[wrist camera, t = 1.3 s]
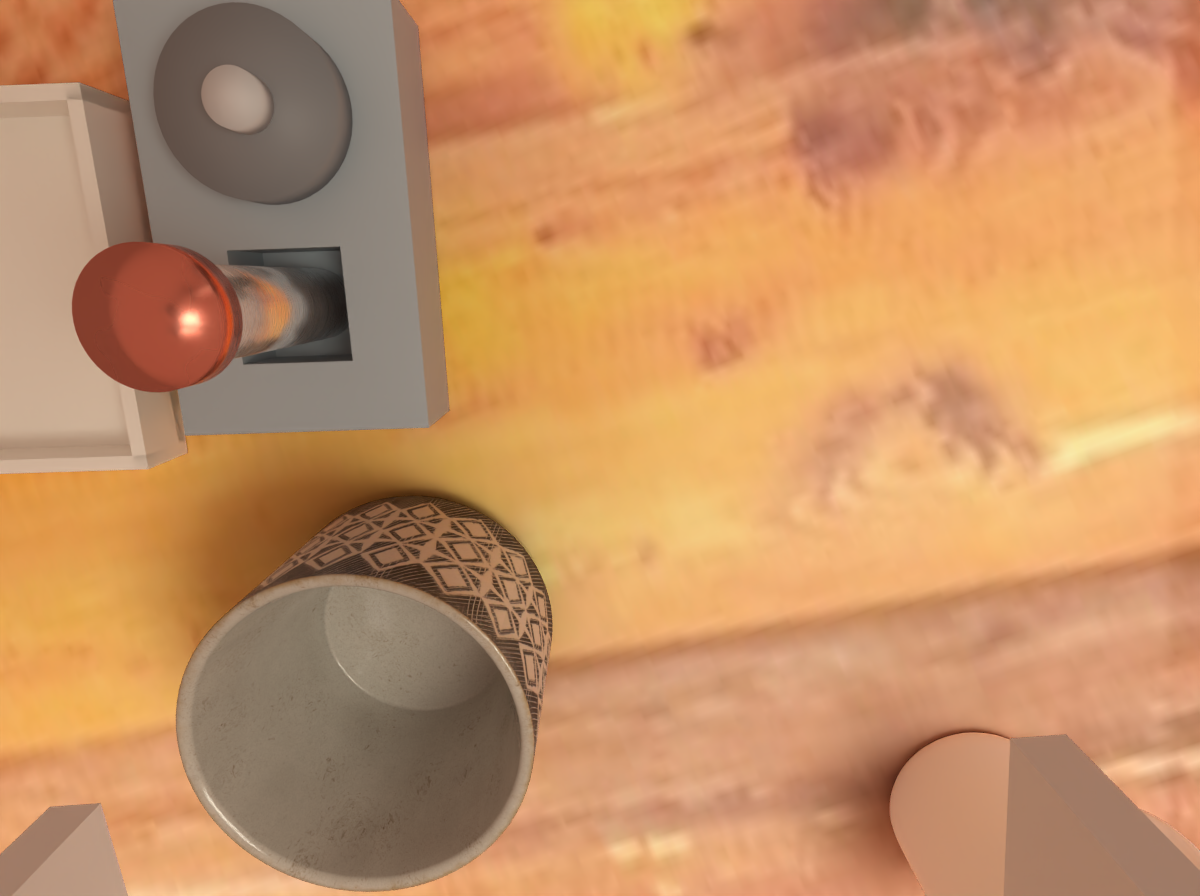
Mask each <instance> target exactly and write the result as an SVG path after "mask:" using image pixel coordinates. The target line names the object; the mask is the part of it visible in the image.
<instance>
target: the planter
mask: <svg viewBox="0 0 1200 896" xmlns="http://www.w3.org/2000/svg"><path fill="white" fill-rule="evenodd" d="M551 641H552V612H551V605H550V601H549V597H548V593H547V590H546V587H545V584H544V582H543V579H542V577H541V575H540V573H539V571H538V569H537V567H536V565H535V564H534V562H533V561H532V559H531V557H530V556H529V555H528V553H527V552H526V551H525V549H524V548H523V547H522V546H521V545H520V543H519V542H518V541H517V540H516V539H515V538H514V537H513V536H512V535H511V534H510V533H508V532H507V531H506V530H505V529H504V528H503V527H501V526H500V525H498V524H497V523H496V522H494V521H493V520H491V519H490V518H488V517H486V516H485V515H483V514H481V513H479V512H477V511H475V510H473V509H471V508H468V507H466V506H464V505H461V504H458V503H455V502H451V501H448V500H444V499H438V498H433V497H424V496H400V497H391V498H385V499H380V500H377V501H373V502H369V503H366V504H364V505H361V506H358V507H356V508H354V509H352V510H350V511H348V512H346V513H344V514H342V515H341V516H339V517H338V518H336V519H335V520H333V521H332V522H330V523H329V524H328V525H327V526H325V527H324V528H323V529H322V530H321V531H320V532H318V533H317V534H316V535H315V536H314V537H313V538H312V539H310V540H309V541H308V542H307V543H306V544H305V545H304V546H303V547H301V548H300V549H299V550H298V551H297V552H296V553H295V554H293V555H292V556H291V557H290V558H289V559H288V560H287V561H285V562H284V563H283V564H282V565H281V566H280V567H279V568H277V569H276V570H275V571H274V572H273V573H272V574H271V575H270V576H268V577H267V578H266V579H265V580H264V581H263V582H262V583H260V584H259V585H258V586H257V587H256V588H255V589H254V590H252V591H251V592H250V593H249V594H248V595H247V596H246V597H244V598H243V599H242V600H241V601H240V602H239V603H238V604H237V605H235V606H234V607H233V608H232V609H231V610H230V611H229V612H227V613H226V614H225V615H224V616H223V617H222V618H221V619H220V620H219V621H218V622H217V623H216V624H215V625H214V626H213V627H212V628H211V629H210V630H209V631H208V633H207V634H206V635H205V636H204V638H203V639H202V640H201V642H200V643H199V645H198V646H197V648H196V650H195V651H194V653H193V655H192V657H191V659H190V661H189V663H188V665H187V667H186V670H185V672H184V675H183V678H182V681H181V685H180V689H179V693H178V699H177V708H176V732H177V741H178V747H179V752H180V756H181V760H182V763H183V767H184V769H185V772H186V775H187V777H188V780H189V782H190V784H191V786H192V788H193V790H194V792H195V794H196V795H197V797H198V799H199V801H200V802H201V804H202V805H203V807H204V808H205V810H206V811H207V812H208V814H209V815H210V816H211V817H212V819H213V820H214V821H215V822H216V824H217V825H218V826H219V827H220V828H221V829H222V830H223V831H224V832H225V833H226V834H227V835H228V836H229V837H230V838H231V839H232V840H233V841H234V842H236V843H237V844H238V845H239V846H240V847H242V848H243V849H244V850H246V851H247V852H248V853H250V854H251V855H252V856H254V857H255V858H257V859H259V860H260V861H262V862H263V863H265V864H267V865H269V866H271V867H272V868H274V869H276V870H278V871H280V872H282V873H285V874H287V875H289V876H292V877H294V878H297V879H300V880H302V881H305V882H309V883H312V884H315V885H319V886H324V887H328V888H334V889H339V890H348V891H362V892H377V891H390V890H398V889H404V888H409V887H414V886H418V885H421V884H425V883H428V882H431V881H434V880H436V879H439V878H442V877H444V876H446V875H448V874H450V873H452V872H454V871H456V870H458V869H460V868H462V867H463V866H465V865H467V864H468V863H470V862H471V861H473V860H474V859H475V858H477V857H478V856H479V855H481V854H482V853H483V852H484V851H486V850H487V849H488V848H489V847H490V846H491V845H492V844H493V843H494V842H495V841H496V840H497V839H498V838H499V837H500V835H501V834H502V833H503V832H504V831H505V829H506V828H507V827H508V825H509V824H510V823H511V821H512V819H513V818H514V816H515V815H516V813H517V811H518V809H519V807H520V805H521V803H522V801H523V799H524V796H525V794H526V791H527V788H528V785H529V781H530V778H531V773H532V768H533V762H534V755H535V748H536V742H537V735H538V728H539V722H540V715H541V708H542V702H543V695H544V688H545V682H546V675H547V668H548V662H549V655H550V648H551Z"/></svg>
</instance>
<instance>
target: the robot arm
mask: <svg viewBox="0 0 1200 896" xmlns="http://www.w3.org/2000/svg"><path fill="white" fill-rule="evenodd" d="M0 896H128V894H127V891H126V887H125V884H124V881H123V877H122V874H121V870H120V867H119V864H118V860H117V857H116V853H115V850H114V847H113V843H112V840H111V836H110V833H109V830H108V826H107V823H106V820H105V816H104V813H103V809H102V806H101V803H97V804H83V805H69V806H55V807H49V808H48V809H47V810H46V811H45V812H44V813H43V814H42V815H41V816H40V817H39V818H38V819H37V820H36V821H35V822H34V823H33V824H32V825H31V826H29V827H28V828H27V829H26V830H25V831H24V832H23V833H22V834H21V835H20V836H19V837H18V838H17V839H16V840H15V841H14V842H13V843H12V844H11V845H10V846H9V847H7V848H6V849H5V850H4V851H3V852H2V853H1V854H0ZM1003 896H1200V870H1199V869H1198V868H1197V867H1196V866H1195V865H1194V864H1193V863H1192V862H1191V861H1190V860H1189V859H1188V858H1187V857H1186V856H1185V855H1184V854H1183V853H1182V852H1181V851H1180V850H1179V849H1178V848H1177V847H1176V846H1175V845H1174V844H1173V843H1172V842H1171V841H1170V840H1169V839H1168V838H1167V837H1166V836H1165V835H1164V834H1163V833H1162V832H1161V831H1160V830H1159V829H1158V827H1157V826H1156V825H1155V824H1154V823H1153V822H1152V821H1151V820H1150V819H1149V818H1148V817H1147V816H1146V815H1145V814H1144V813H1143V812H1142V811H1141V810H1140V809H1139V808H1138V807H1137V806H1136V805H1135V804H1134V803H1133V802H1132V801H1131V800H1130V799H1129V798H1128V797H1127V796H1126V795H1125V794H1124V793H1123V792H1122V791H1121V790H1120V789H1119V788H1118V787H1117V786H1116V785H1115V784H1114V783H1113V782H1112V781H1111V780H1110V779H1109V778H1108V777H1107V776H1106V775H1105V774H1104V773H1103V772H1102V770H1101V769H1100V768H1099V767H1098V766H1097V765H1096V764H1095V763H1094V762H1093V761H1092V760H1091V759H1090V758H1089V757H1088V756H1087V755H1086V754H1085V753H1084V752H1083V751H1082V750H1081V749H1080V748H1079V747H1078V746H1077V745H1076V744H1075V743H1074V742H1073V741H1072V740H1071V739H1070V738H1069V737H1068V736H1067V735H1066V734H1064V735H1050V736H1036V737H1022V738H1010V757H1009V780H1008V803H1007V826H1006V849H1005V872H1004V895H1003Z"/></svg>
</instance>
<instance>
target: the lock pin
mask: <svg viewBox="0 0 1200 896" xmlns="http://www.w3.org/2000/svg"><path fill="white" fill-rule="evenodd" d="M72 316H73V323H74V327H75V330H76V333H77V336H78V338H79V341H80V343H81V345H82V346H83V348H84V350H85V352H86V353H87V354H88V356H89V357H90V359H91V360H92V361H93V362H94V363H95V364H96V366H97V367H98V368H100V369H101V370H102V371H103V372H104V373H105V374H107V375H108V376H109V377H111V378H112V379H114V380H115V381H117V382H119V383H121V384H123V385H125V386H127V387H130V388H133V389H136V390H140V391H145V392H158V393H160V392H169V391H173V390H177V389H181V388H185V387H189V386H193V385H197V384H201V383H203V382H206V381H208V380H210V379H212V378H214V377H216V376H217V375H218V374H220V373H221V372H222V371H223V370H224V369H225V368H226V367H227V366H228V365H229V364H230V363H231V361H232V360H233V359H235V358H240V357H244V356H249V355H254V354H259V353H263V352H268V351H273V350H277V349H282V348H287V347H292V346H296V345H301V344H306V343H311V342H315V341H320V340H325V339H329V338H333V337H336V336H338V335H340V334H341V333H342V332H344V331H345V330H346V329H347V328H348V326H349V322H348V313H347V304H346V295H345V286H344V280H343V279H342V278H341V277H340V276H338V275H337V274H335V273H334V272H331V271H329V270H326V269H319V268H294V267H269V266H244V265H219V264H214V263H212V262H211V261H210V260H209V259H207V258H206V257H204V256H203V255H201V254H199V253H198V252H195V251H193V250H191V249H189V248H185V247H182V246H178V245H172V244H162V243H149V242H126V243H121V244H117V245H113V246H111V247H109V248H106V249H104V250H103V251H101V252H100V253H98V254H97V255H95V256H94V257H93V258H92V259H91V260H90V261H89V262H88V263H87V264H86V265H85V267H84V268H83V270H82V271H81V273H80V275H79V277H78V279H77V281H76V284H75V287H74V291H73V297H72Z"/></svg>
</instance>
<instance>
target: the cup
mask: <svg viewBox="0 0 1200 896" xmlns="http://www.w3.org/2000/svg"><path fill="white" fill-rule="evenodd" d="M1009 757H1010V740H1009V739H1007V738H1004V737H1001V736H998V735H994V734H988V733H977V732H968V733H959V734H954V735H950V736H946V737H943V738H941V739H938V740H936V741H934V742H932V743H930V744H928V745H927V746H925V747H923V748H922V749H921V750H919V751H918V752H917V753H916V754H914V755H913V756H912V757H911V758H910V759H909V760H908V761H907V763H906V764H905V765H904V766H903V768H902V769H901V771H900V773H899V774H898V776H897V778H896V781H895V783H894V786H893V789H892V792H891V797H890V819H891V824H892V827H893V830H894V833H895V836H896V838H897V841H898V843H899V845H900V847H901V849H902V851H903V853H904V855H905V857H906V859H907V861H908V863H909V865H910V867H911V869H912V871H913V873H914V874H915V876H916V878H917V880H918V882H919V884H920V886H921V888H922V890H923V892H924V894H925V896H1003V895H1004V872H1005V849H1006V826H1007V803H1008V780H1009ZM1140 810H1141V809H1140ZM1141 811H1142V812H1143V813H1144V814H1145V815H1146V816H1147V817H1148V818H1149V819H1150V820H1151V821H1152V822H1153V823H1154V824H1155V825H1156V826H1157V827H1158V829H1159V830H1160V831H1161V832H1162V833H1163V834H1164V835H1165V836H1166V837H1167V838H1168V839H1169V840H1170V841H1171V842H1172V843H1173V844H1174V845H1175V846H1176V847H1177V848H1178V849H1179V850H1180V851H1181V852H1182V853H1183V854H1184V855H1185V856H1186V857H1187V858H1188V859H1189V860H1190V861H1191V862H1192V863H1193V864H1194V865H1195V866H1196V867H1197V868H1198V869H1199V870H1200V850H1199V849H1198V848H1197V847H1196V846H1195V845H1194V844H1193V843H1192V842H1190V841H1189V840H1188V839H1187V838H1186V837H1185V836H1184V835H1182V834H1181V833H1180V832H1179V831H1177V830H1176V829H1175V828H1173V827H1172V826H1171V825H1169V824H1168V823H1166V822H1165V821H1163V820H1161V819H1160V818H1158V817H1156V816H1154V815H1152V814H1150V813H1148V812H1146V811H1144V810H1141Z"/></svg>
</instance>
